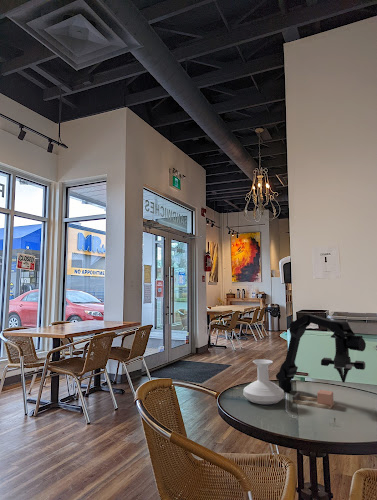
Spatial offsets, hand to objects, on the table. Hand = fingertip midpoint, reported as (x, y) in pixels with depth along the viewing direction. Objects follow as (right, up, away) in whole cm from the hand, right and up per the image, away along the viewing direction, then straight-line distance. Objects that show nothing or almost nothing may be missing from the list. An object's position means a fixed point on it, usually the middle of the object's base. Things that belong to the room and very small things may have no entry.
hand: (343, 382), depth 170 cm
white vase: (-35, -14, +12) cm, 39 cm away
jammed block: (-7, -12, +3) cm, 15 cm away
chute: (-12, -13, +7) cm, 19 cm away
